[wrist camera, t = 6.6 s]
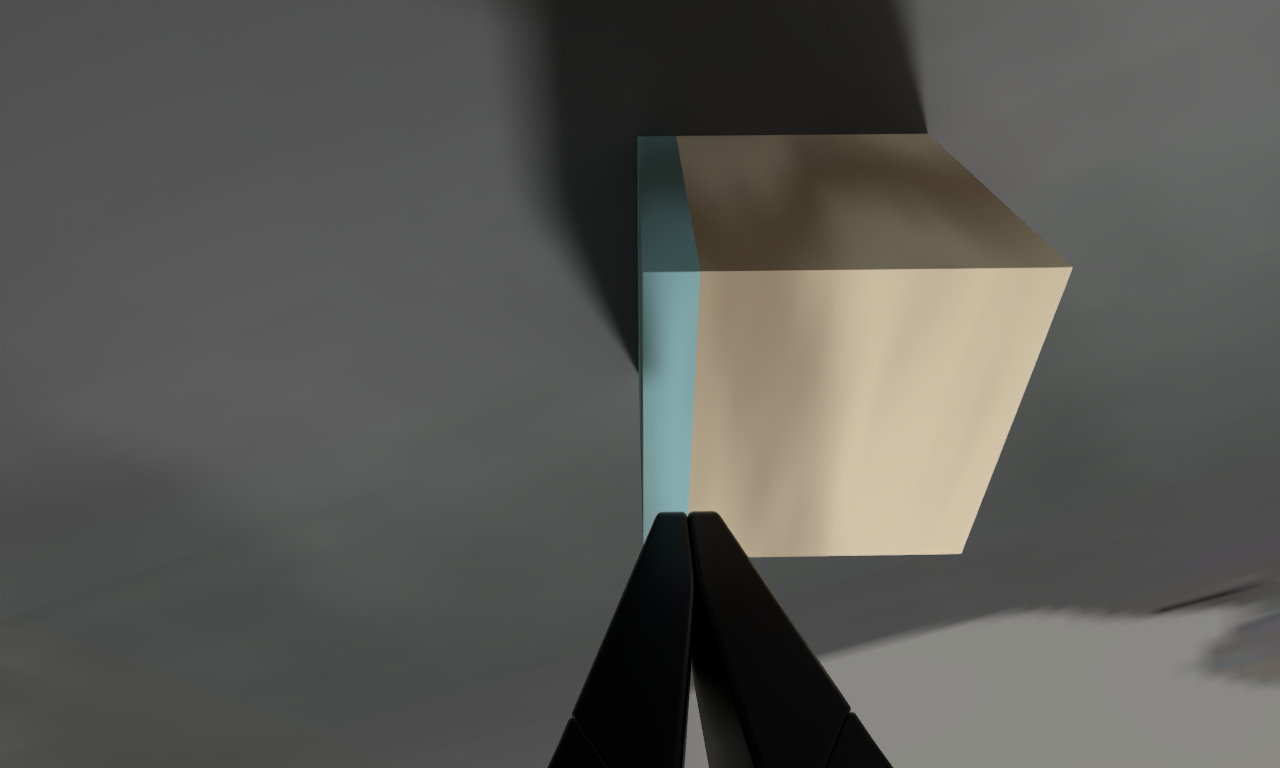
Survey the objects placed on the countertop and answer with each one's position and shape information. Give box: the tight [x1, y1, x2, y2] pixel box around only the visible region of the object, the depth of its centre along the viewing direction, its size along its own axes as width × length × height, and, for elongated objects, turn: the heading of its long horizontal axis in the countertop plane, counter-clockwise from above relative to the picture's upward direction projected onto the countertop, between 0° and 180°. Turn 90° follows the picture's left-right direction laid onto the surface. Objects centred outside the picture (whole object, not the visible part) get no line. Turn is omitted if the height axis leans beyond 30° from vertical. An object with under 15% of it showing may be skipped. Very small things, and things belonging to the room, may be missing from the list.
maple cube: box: [637, 134, 1073, 557], centre depth 14 cm, size 6×6×6 cm
